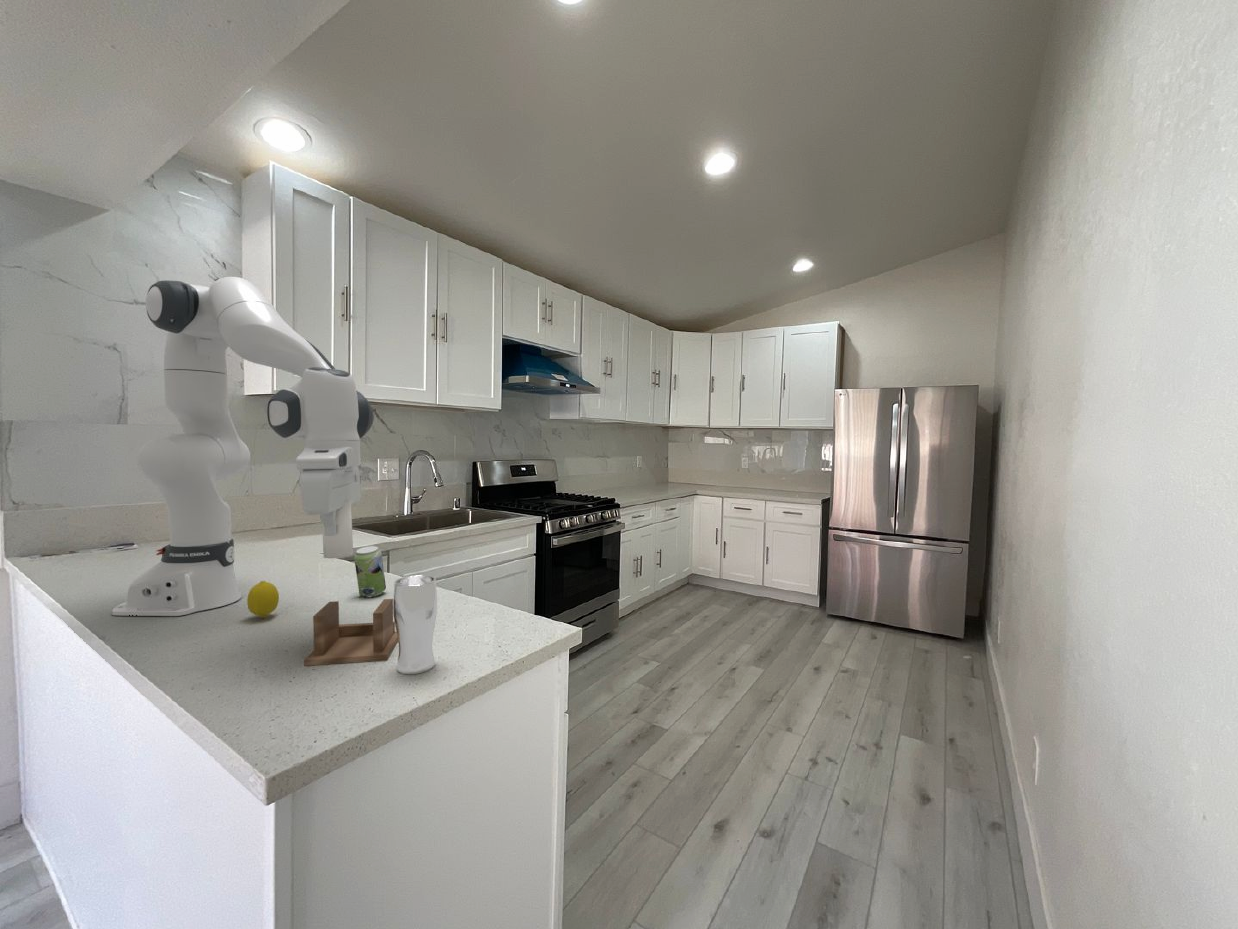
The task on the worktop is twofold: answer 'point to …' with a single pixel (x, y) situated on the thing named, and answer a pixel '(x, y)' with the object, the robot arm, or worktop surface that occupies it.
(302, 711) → the worktop surface
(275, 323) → the robot arm
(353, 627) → the holder
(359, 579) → the beverage can
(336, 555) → the roll
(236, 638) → the worktop surface
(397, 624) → the beer glass
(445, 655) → the worktop surface
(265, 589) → the lemon
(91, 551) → the worktop surface
